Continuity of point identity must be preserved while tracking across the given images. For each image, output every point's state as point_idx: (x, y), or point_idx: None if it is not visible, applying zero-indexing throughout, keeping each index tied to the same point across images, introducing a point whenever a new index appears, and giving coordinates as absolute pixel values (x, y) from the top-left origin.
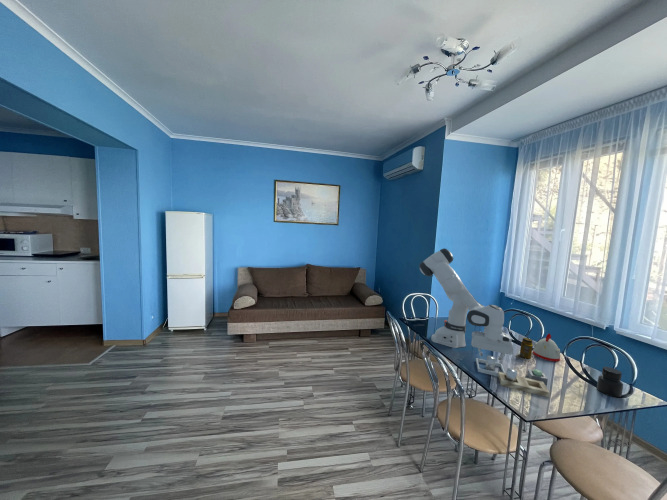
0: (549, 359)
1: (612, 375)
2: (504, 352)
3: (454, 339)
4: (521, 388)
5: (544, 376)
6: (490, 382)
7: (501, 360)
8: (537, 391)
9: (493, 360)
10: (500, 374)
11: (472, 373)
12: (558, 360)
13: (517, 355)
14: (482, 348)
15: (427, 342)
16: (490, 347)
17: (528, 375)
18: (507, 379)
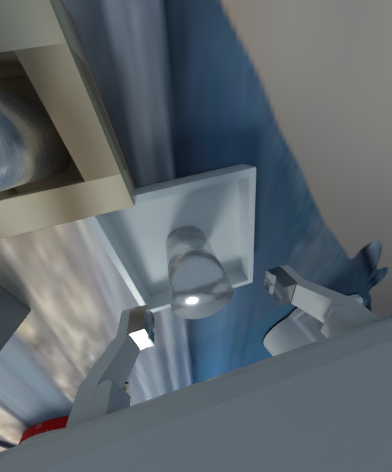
0: (40, 427)
1: None
2: (48, 466)
3: (322, 338)
4: None
5: None
6: (160, 47)
7: (125, 310)
8: None
9: (183, 276)
10: (106, 164)
11: (273, 124)
12: (22, 436)
13: (124, 388)
14: (359, 337)
15: (377, 279)
16: (301, 443)
17: (2, 310)
18: (17, 98)
